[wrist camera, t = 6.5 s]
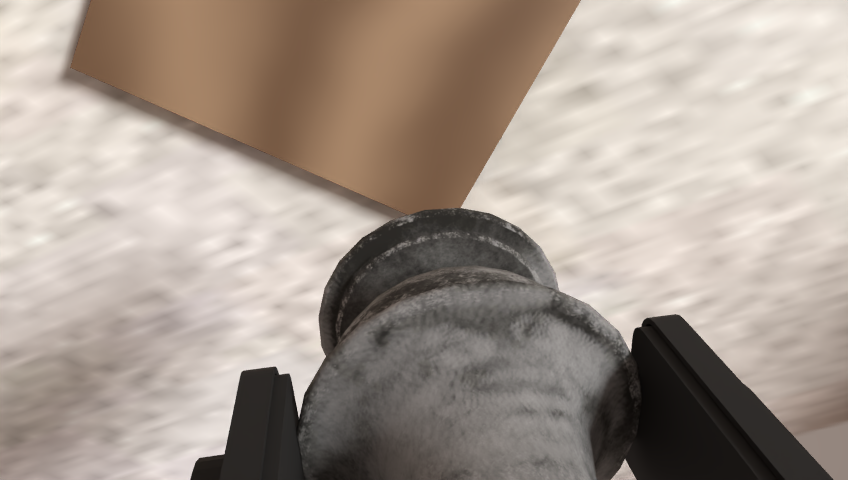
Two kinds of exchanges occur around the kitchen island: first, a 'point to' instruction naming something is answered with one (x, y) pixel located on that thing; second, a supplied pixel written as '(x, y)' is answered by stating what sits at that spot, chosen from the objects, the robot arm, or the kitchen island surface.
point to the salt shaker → (463, 362)
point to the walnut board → (337, 80)
